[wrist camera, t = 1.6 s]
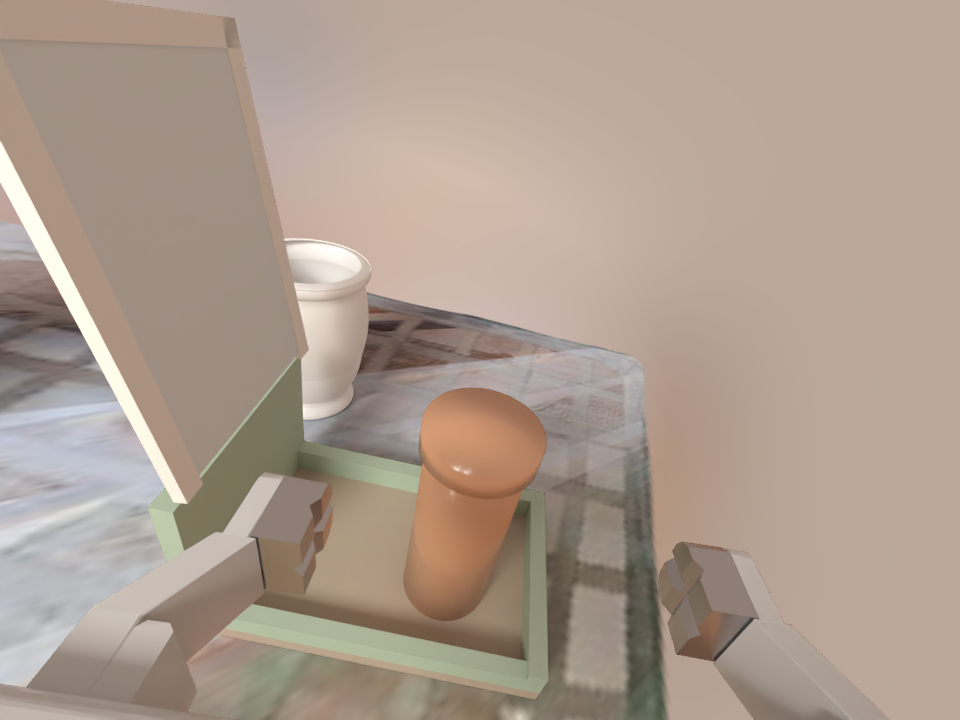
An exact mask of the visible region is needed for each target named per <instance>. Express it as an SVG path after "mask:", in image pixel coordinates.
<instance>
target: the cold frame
mask: <svg viewBox="0 0 960 720" xmlns="http://www.w3.org/2000/svg"><path fill="white" fill-rule="evenodd" d="M421 469H422V466H418V465H413V464H409V463H404V462H399V461H395V460H390V459H386V458H381V457H376V456H372V455H367V454H363V453H358V452H353V451H349V450H344V449H339V448H335V447H330V446H326V445H321V444H316V443H312V442H307V441H304V429H303V401H302V372H301V359H297V358H294V359H293V360H292V362H291V363H290V364H289V365H288V367H287V368H286V369H285V370H284V372H283V373H282V374H281V375H280V377H279V378H278V379H277V380H276V381H275V383H274V384H273V385H272V386H271V388H270V389H269V390H268V391H267V393H266V394H265V395H264V396H263V397H262V399H261V400H260V401H259V402H258V404H257V405H256V406H255V407H254V409H253V410H252V411H251V412H250V413H249V415H248V416H247V417H246V418H245V420H244V421H243V422H242V423H241V425H240V426H239V427H238V428H237V429H236V431H235V432H234V433H233V434H232V436H231V437H230V438H229V439H228V441H227V442H226V443H225V444H224V445H223V447H222V448H221V449H220V450H219V452H218V453H217V454H216V455H215V457H214V458H213V459H212V460H211V462H210V463H209V464H208V465H207V466H206V468H205V469H204V470H203V471H202V473H201V474H200V475H199V476H200V478H201V480H202V482H203V485H202V486H201V488H200V489H199V490H198V491H197V493H196V494H195V495H194V497H193V498H192V499H191V500H190V502H189V503H188V504H183V503H174V502H173V501H172V499H171V497H170V495H169V493H168V491H167V489H166V488H164V489H163V491H162V492H161V493H160V494H159V495H158V496H157V497H156V499H155V500H154V501H153V502H152V503H151V504H150V505H149V507H148V510H149V513H150V516H151V519H152V522H153V525H154V528H155V530H156V533H157V536H158V539H159V542H160V545H161V548H162V550H163V553H164V556H165V559H166V562H167V561H169V560H170V559H172V558H174V557H175V556H177V555H178V554H180V553H182V552H183V551H185V550H187V549H188V548H190V547H192V546H193V545H195V544H197V543H198V542H200V541H202V540H203V539H205V538H206V537H208V536H210V535H211V534H213V533H215V532H221V533H223V531H224V530H225V528H226V527H227V525H228V524H229V522H230V521H231V519H232V518H233V516H234V515H235V513H236V512H237V510H238V508H239V507H240V505H241V504H242V502H243V501H244V499H245V498H246V496H247V495H248V493H249V492H250V490H251V488H252V487H253V485H254V484H255V482H256V481H257V479H258V478H259V477H260V476H261V475H262V474H264V473H265V472H267V473H273V474H278V475H284V476H290V477H295V478H300V479H305V480H310V481H316V482H321V483H326V484H331V485H332V494H333V495H332V497H331V499H330V502H329V504H330V505H331V506H332V507H333V518H332V525H331V528H330V532H329V536H328V539H327V541H326V544H325V546H324V549H323V550H321V551H320V552H319V553H317V554H316V568H315V571H314V573H313V576H312V578H311V580H310V583H309V585H308V587H307V590H306V592H305V595H299V594H291V593H283V592H276V591H268V590H265V593H264V594H263V595H262V596H261V597H259V598H258V599H257V600H256V601H255V602H254V603H253V604H251V605H250V606H249V607H248V608H247V609H246V610H245V611H244V612H242V613H241V614H240V615H239V616H238V617H237V618H236V619H234V620H233V621H232V622H231V623H230V624H229V625H228V626H227V627H225V628H224V629H223V630H222V631H221V632H220V633H219V635H224V636H229V637H233V638H238V639H243V640H248V641H253V642H258V643H263V644H267V645H272V646H277V647H282V648H287V649H292V650H297V651H301V652H306V653H311V654H316V655H321V656H326V657H330V658H335V659H340V660H345V661H350V662H355V663H360V664H364V665H369V666H374V667H379V668H384V669H389V670H394V671H398V672H403V673H408V674H413V675H418V676H423V677H428V678H432V679H437V680H442V681H447V682H452V683H457V684H462V685H466V686H471V687H476V688H481V689H486V690H491V691H495V692H500V693H505V694H510V695H515V696H520V697H525V698H529V699H534V700H535V699H536V698H537V696H538V695H539V693H540V692H541V690H542V689H543V687H544V686H545V684H546V683H547V681H548V633H547V582H546V530H545V493H542V492H538V491H533V490H529V489H523V490H522V493H521V495H520V498H519V501H518V503H517V506H516V509H515V512H514V514H513V517H512V520H511V522H510V525H509V528H508V530H507V533H506V536H505V539H504V541H503V544H502V547H501V549H500V552H499V555H498V558H497V560H496V563H495V566H494V568H493V571H492V574H491V576H490V579H489V582H488V585H487V587H486V590H485V593H484V595H483V598H482V600H481V602H480V603H479V605H478V606H477V607H476V608H475V610H474V611H472V612H471V613H470V614H468V615H467V616H465V617H463V618H461V619H458V620H453V621H439V620H435V619H431V618H429V617H427V616H425V615H423V614H422V613H420V612H419V611H418V610H417V609H416V608H415V607H414V606H413V605H412V604H411V602H410V601H409V599H408V597H407V595H406V592H405V589H404V583H403V575H404V569H405V563H406V557H407V551H408V545H409V540H410V534H411V528H412V522H413V516H414V510H415V504H416V499H417V493H418V487H419V481H420V475H421Z"/></svg>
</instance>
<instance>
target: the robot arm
mask: <svg viewBox="0 0 960 720" xmlns="http://www.w3.org/2000/svg"><path fill="white" fill-rule="evenodd" d="M332 495H333V494H332V485H331V484H326V483H321V482H316V481H310V480H305V479H300V478H295V477H290V476H284V475H278V474H273V473H267V472H265V473H264V474H262V475H261V476H260V477H259V478H258V479H257V481H256V482H255V484H254V485H253V487H252V488H251V490H250V492H249V493H248V495H247V496H246V498H245V499H244V501H243V502H242V504H241V505H240V507H239V508H238V510H237V512H236V513H235V515H234V516H233V518H232V519H231V521H230V522H229V524H228V525H227V527H226V528H225V530H224V531H223V533H221V532H215V533H213V534H211V535H210V536H208V537H206V538H205V539H203V540H202V541H200V542H198V543H197V544H195V545H193V546H192V547H190V548H188V549H187V550H185V551H183V552H182V553H180V554H178V555H177V556H175V557H174V558H172V559H170V560H169V561H167V562H165V563H164V564H162V565H160V566H159V567H157V568H155V569H154V570H152V571H151V572H149V573H147V574H146V575H144V576H142V577H141V578H139V579H137V580H136V581H134V582H132V583H131V584H129V585H127V586H126V587H124V588H123V589H121V590H119V591H118V592H116V593H114V594H113V595H111V596H109V597H108V598H106V599H104V600H103V601H101V602H99V603H98V604H96V605H95V606H93V607H91V608H90V609H89V610H88V612H87V613H86V614H85V615H84V616H83V618H82V619H81V620H80V621H79V623H78V624H77V625H76V626H75V628H74V629H73V630H72V631H71V633H70V634H69V635H68V636H67V637H66V639H65V640H64V641H63V642H62V644H61V645H60V646H59V647H58V649H57V650H56V651H55V652H54V654H53V655H52V656H51V657H50V658H49V660H48V661H47V662H46V663H45V665H44V666H43V667H42V668H41V670H40V671H39V672H38V673H37V674H36V676H35V677H34V678H33V679H32V681H31V682H30V683H29V684H28V686H27V687H26V688H25V687H18V686H12V685H5V684H0V720H236V719H230V718H223V717H217V716H210V715H203V714H197V713H190V712H187V711H188V709H189V707H190V705H191V703H192V701H193V699H194V697H195V695H196V693H197V690H196V686H195V683H194V680H193V678H192V675H191V673H190V671H189V668H188V666H187V663H186V662H187V661H188V660H189V659H190V658H191V657H193V656H194V655H195V654H196V653H197V652H198V651H199V650H200V649H202V648H203V647H204V646H205V645H206V644H207V643H208V642H210V641H211V640H212V639H213V638H214V637H215V636H216V635H217V634H219V633H220V632H221V631H222V630H223V629H224V628H225V627H227V626H228V625H229V624H230V623H231V622H232V621H233V620H234V619H236V618H237V617H238V616H239V615H240V614H241V613H242V612H244V611H245V610H246V609H247V608H248V607H249V606H250V605H251V604H253V603H254V602H255V601H256V600H257V599H258V598H259V597H261V596H262V595H263V594H264V593H265V590H268V591H276V592H283V593H291V594H299V595H305V592H306V590H307V587H308V585H309V583H310V580H311V578H312V576H313V573H314V571H315V568H316V554H317V553H319V552H320V551H321V550H323V549H324V546H325V544H326V541H327V539H328V536H329V532H330V528H331V525H332V518H333V507H332V506H331V505H330V504H329V502H330V499H331V497H332ZM673 554H674V557H675V558H673V559H671V560H669V561H667V562H665V563H664V565H663V567H662V569H661V571H660V576H659V593H660V596H661V600H662V604H663V605H664V606H665V607H666V608H667V610H668V611H669V612H670V613H671V614H672V615H671V617H670V620H669V622H668V625H669V630H670V633H671V637H672V640H673V643H674V647H675V651H676V654H677V655H682V656H688V657H693V658H699V659H704V660H709V661H714V665H715V666H716V668H717V669H718V670H719V672H720V673H721V675H722V676H723V677H724V679H725V680H726V681H727V683H728V684H729V686H730V687H731V688H732V690H733V691H734V692H735V694H736V695H737V697H738V698H739V699H740V701H741V702H742V703H743V705H744V706H745V708H746V709H747V710H748V712H749V713H750V714H751V716H752V717H753V718H754V720H890V719H889V718H888V717H887V716H886V715H885V714H884V713H883V712H882V711H881V710H879V709H878V708H877V707H876V706H875V705H874V704H873V703H872V702H871V701H870V700H869V699H868V698H867V697H866V696H865V695H864V694H863V693H862V692H861V691H860V690H859V689H858V688H857V687H855V686H854V685H853V684H852V683H851V682H850V681H849V680H848V679H847V678H846V677H845V676H844V675H843V674H842V673H841V672H840V671H838V669H837V668H836V667H835V666H833V664H831V663H830V662H829V661H828V660H827V659H826V658H825V657H824V656H823V655H822V654H821V653H820V652H819V651H818V650H817V649H816V648H815V647H814V646H813V645H812V644H811V643H809V641H807V640H806V639H805V638H804V637H803V636H802V635H801V634H800V633H799V632H798V631H797V630H796V629H795V628H794V627H793V626H792V625H788V624H785V623H784V621H783V619H782V617H781V615H780V613H779V611H778V610H777V607H776V605H775V603H774V602H773V599H772V597H771V595H770V593H769V591H768V589H767V587H766V585H765V583H764V581H763V579H762V577H761V575H760V573H759V571H758V569H757V567H756V565H755V563H754V561H753V559H752V557H751V556H750V555H749V554H748V553H747V552H742V551H736V550H730V549H723V548H721V547H714V546H707V545H700V544H694V543H688V542H680V543H678V544H677V545H676V546H675V548H674V549H673Z"/></svg>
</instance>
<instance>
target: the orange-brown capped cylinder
mask: <svg viewBox="0 0 960 720" xmlns="http://www.w3.org/2000/svg"><path fill="white" fill-rule="evenodd" d="M545 449H546V434H545V431H544V428H543V426H542V424H541V422H540V421H539V419H538V418H537V417H536V415H535V414H534V413H533V412H532V411H531V410H530V409H529V408H527V407H526V406H525V405H524V404H522V403H521V402H519V401H518V400H516V399H514V398H512V397H510V396H508V395H505V394H503V393H500V392H497V391H493V390H488V389H482V388H461V389H456V390H452V391H449V392H446V393H444V394H442V395H440V396H438V397H437V398H435V399H434V400H433V401H432V402H431V403H430V404H429V405H428V407H427V408H426V410H425V412H424V414H423V419H422V425H421V431H420V437H419V453H420V456H421V460H422V462H423V463H422V469H421V475H420V481H419V487H418V493H417V499H416V504H415V510H414V516H413V522H412V528H411V534H410V540H409V545H408V551H407V557H406V563H405V569H404V575H403V583H404V589H405V592H406V595H407V597H408V599H409V601H410V602H411V604H412V605H413V606H414V607H415V608H416V609H417V610H418V611H419V612H420V613H422V614H423V615H425V616H427V617H429V618H431V619H435V620H439V621H453V620H458V619H461V618H463V617H465V616H467V615H468V614H470V613H471V612H472V611H474V610H475V608H476V607H477V606H478V605H479V603H480V602H481V600H482V598H483V595H484V593H485V590H486V587H487V585H488V582H489V579H490V576H491V574H492V571H493V568H494V566H495V563H496V560H497V558H498V555H499V552H500V549H501V547H502V544H503V541H504V539H505V536H506V533H507V530H508V528H509V525H510V522H511V520H512V517H513V514H514V512H515V509H516V506H517V503H518V501H519V498H520V495H521V493H522V490H523V489H525V488H526V487H527V486H528V485H529V484H530V483H531V482H532V481H533V479H534V478H535V476H536V473H537V471H538V468H539V466H540V463H541V461H542V458H543V455H544V453H545Z"/></svg>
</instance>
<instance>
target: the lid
mask: <svg viewBox="0 0 960 720" xmlns="http://www.w3.org/2000/svg"><path fill="white" fill-rule="evenodd" d="M0 182H1V184H2V186H3V188H4V190H5V192H6V193H7V195H8V197H9V199H10V201H11V203H12V205H13V207H14V208H15V210H16V212H17V214H18V216H19V218H20V219H21V221H22V223H23V225H24V227H25V229H26V231H27V232H28V234H29V236H30V238H31V240H32V242H33V243H34V245H35V247H36V249H37V251H38V253H39V255H40V256H41V258H42V260H43V262H44V264H45V266H46V268H47V269H48V271H49V273H50V275H51V277H52V279H53V280H54V282H55V284H56V286H57V288H58V290H59V292H60V293H61V295H62V297H63V299H64V301H65V303H66V305H67V306H68V308H69V310H70V312H71V314H72V316H73V317H74V319H75V321H76V323H77V325H78V327H79V329H80V330H81V332H82V334H83V336H84V338H85V340H86V342H87V343H88V345H89V347H90V349H91V351H92V353H93V354H94V356H95V358H96V360H97V362H98V364H99V366H100V367H101V369H102V371H103V373H104V375H105V377H106V378H107V380H108V382H109V384H110V386H111V388H112V390H113V391H114V393H115V395H116V397H117V399H118V401H119V403H120V404H121V406H122V408H123V410H124V412H125V414H126V415H127V417H128V419H129V421H130V423H131V425H132V427H133V428H134V430H135V432H136V434H137V436H138V438H139V440H140V441H141V443H142V445H143V447H144V449H145V451H146V452H147V454H148V456H149V458H150V460H151V462H152V464H153V465H154V467H155V469H156V471H157V473H158V475H159V477H160V478H161V480H162V482H163V484H164V486H165V488H166V489H167V491H168V493H169V495H170V497H171V499H172V501H173V502H174V503H183V504H188V503H189V502H190V500H191V499H192V498H193V497H194V495H195V494H196V493H197V491H198V490H199V489H200V488H201V486H202V485H203V482H202V480H201V478H200V476H199V475H200V474H201V473H202V471H203V470H204V469H205V468H206V466H207V465H208V464H209V463H210V462H211V460H212V459H213V458H214V457H215V455H216V454H217V453H218V452H219V450H220V449H221V448H222V447H223V445H224V444H225V443H226V442H227V441H228V439H229V438H230V437H231V436H232V434H233V433H234V432H235V431H236V429H237V428H238V427H239V426H240V425H241V423H242V422H243V421H244V420H245V418H246V417H247V416H248V415H249V413H250V412H251V411H252V410H253V409H254V407H255V406H256V405H257V404H258V402H259V401H260V400H261V399H262V397H263V396H264V395H265V394H266V393H267V391H268V390H269V389H270V388H271V386H272V385H273V384H274V383H275V381H276V380H277V379H278V378H279V377H280V375H281V374H282V373H283V372H284V370H285V369H286V368H287V367H288V365H289V364H290V363H291V362H292V360H293V359H294V358H297V359H302V358H303V357H304V355H305V354H306V353H307V351H308V350H309V348H308V344H307V339H306V335H305V330H304V326H303V321H302V317H301V312H300V308H299V303H298V299H297V294H296V290H295V286H294V281H293V277H292V272H291V268H290V263H289V259H288V254H287V250H286V245H285V241H284V237H283V232H282V228H281V224H280V219H279V214H278V210H277V205H276V201H275V197H274V192H273V188H272V183H271V179H270V174H269V170H268V165H267V161H266V157H265V152H264V147H263V143H262V139H261V134H260V130H259V125H258V121H257V116H256V112H255V107H254V103H253V99H252V94H251V89H250V85H249V81H248V76H247V72H246V67H245V63H244V58H243V54H242V49H241V45H240V40H239V36H238V32H237V27H236V23H235V19H234V18H229V17H222V16H215V15H207V14H200V13H193V12H186V11H178V10H171V9H163V8H156V7H150V6H142V5H135V4H128V3H121V2H113V1H106V0H0Z"/></svg>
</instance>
